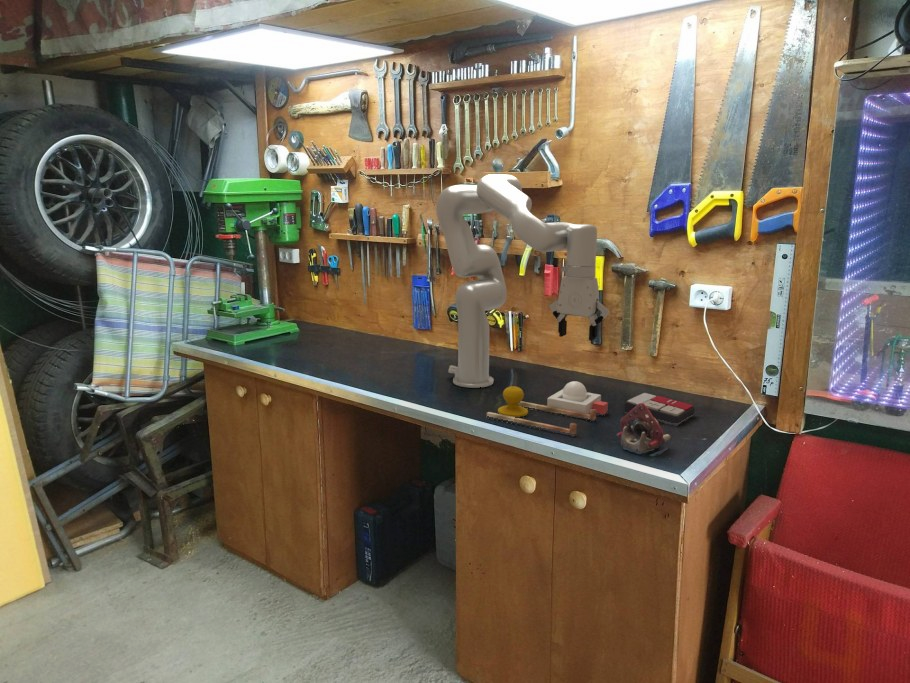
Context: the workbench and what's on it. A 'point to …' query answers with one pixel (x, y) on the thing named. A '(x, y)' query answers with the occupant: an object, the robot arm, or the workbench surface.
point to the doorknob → (513, 402)
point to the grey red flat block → (662, 407)
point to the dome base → (578, 403)
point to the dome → (575, 391)
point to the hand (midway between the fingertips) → (577, 337)
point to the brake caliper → (641, 430)
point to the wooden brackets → (542, 425)
